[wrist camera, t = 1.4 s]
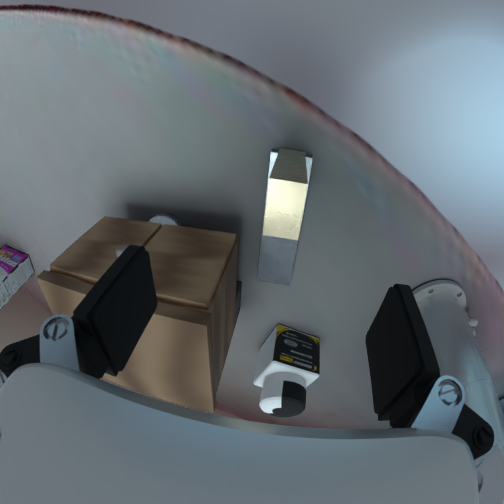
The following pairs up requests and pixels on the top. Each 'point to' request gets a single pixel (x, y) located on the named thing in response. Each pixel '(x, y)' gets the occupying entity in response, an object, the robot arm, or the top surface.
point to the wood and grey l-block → (283, 214)
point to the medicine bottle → (286, 370)
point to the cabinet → (162, 303)
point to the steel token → (165, 219)
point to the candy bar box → (13, 272)
